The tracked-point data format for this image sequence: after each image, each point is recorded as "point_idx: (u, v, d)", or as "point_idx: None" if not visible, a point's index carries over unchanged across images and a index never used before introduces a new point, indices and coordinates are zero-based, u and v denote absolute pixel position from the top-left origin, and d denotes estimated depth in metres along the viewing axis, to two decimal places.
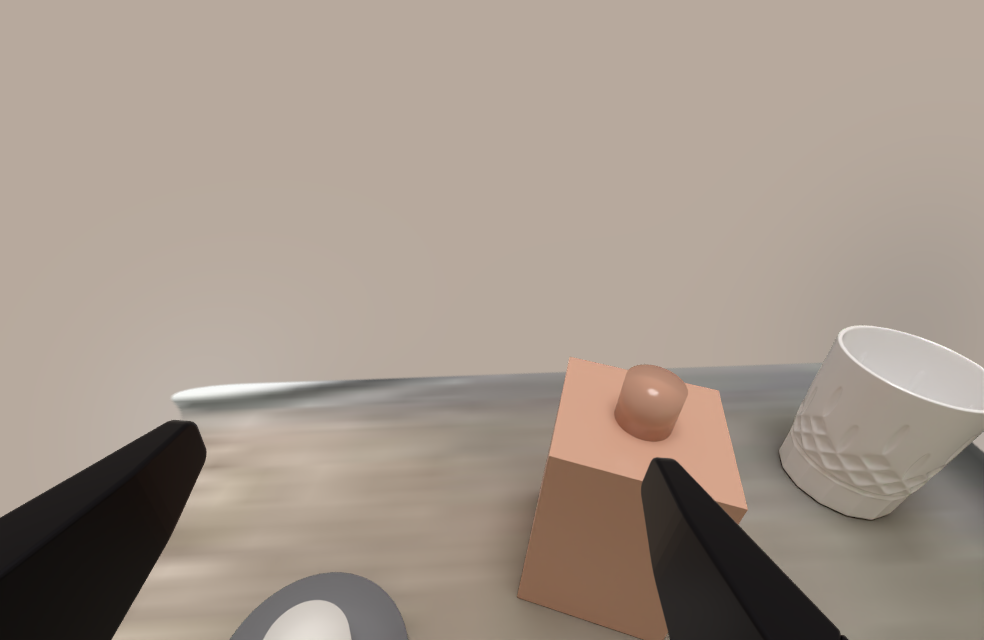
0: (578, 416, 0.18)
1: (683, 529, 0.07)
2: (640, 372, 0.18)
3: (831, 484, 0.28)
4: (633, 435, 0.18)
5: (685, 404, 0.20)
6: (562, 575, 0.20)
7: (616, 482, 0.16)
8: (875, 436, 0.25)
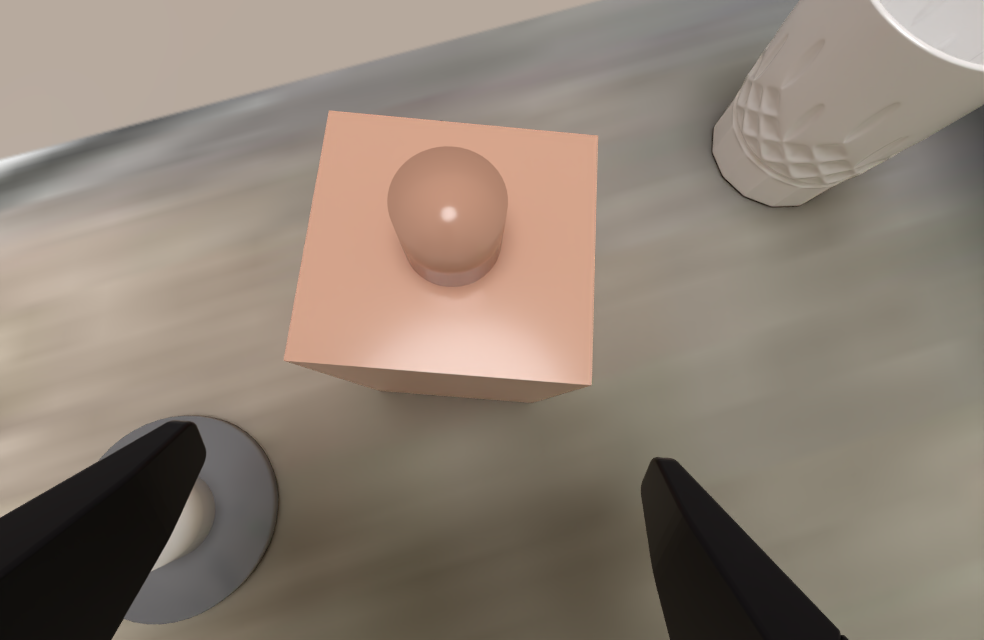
0: (337, 261, 0.11)
1: (683, 529, 0.07)
2: (419, 174, 0.09)
3: (763, 177, 0.21)
4: (431, 280, 0.10)
5: (532, 184, 0.11)
6: (409, 389, 0.17)
7: (402, 371, 0.10)
8: (843, 119, 0.17)
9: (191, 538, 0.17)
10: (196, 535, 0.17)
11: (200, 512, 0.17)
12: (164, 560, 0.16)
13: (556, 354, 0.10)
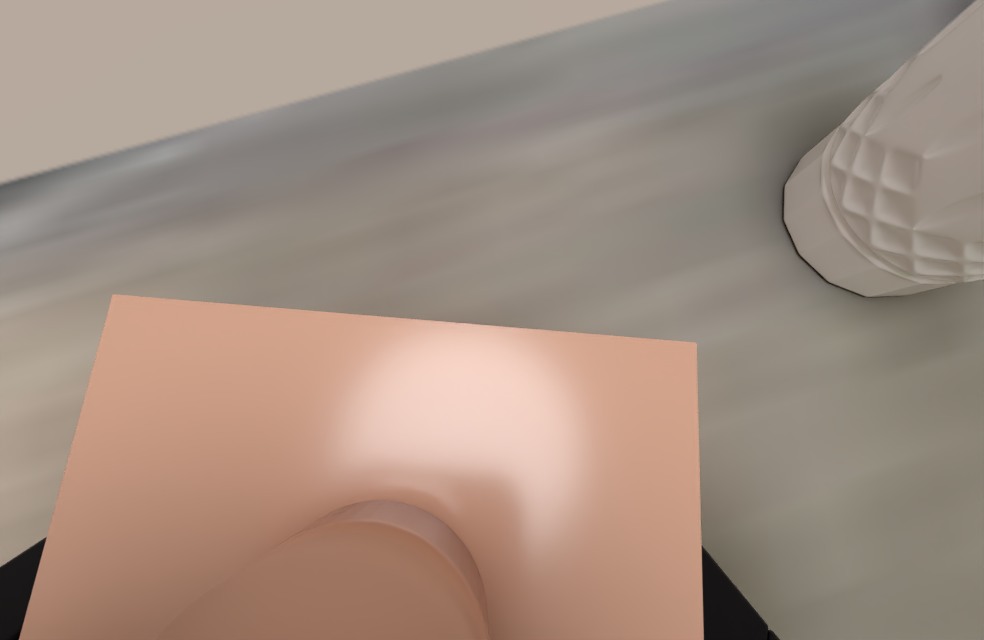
0: None
1: None
2: None
3: (865, 266, 0.15)
4: None
5: (558, 469, 0.05)
6: None
7: None
8: None
9: None
10: None
11: None
12: None
13: None
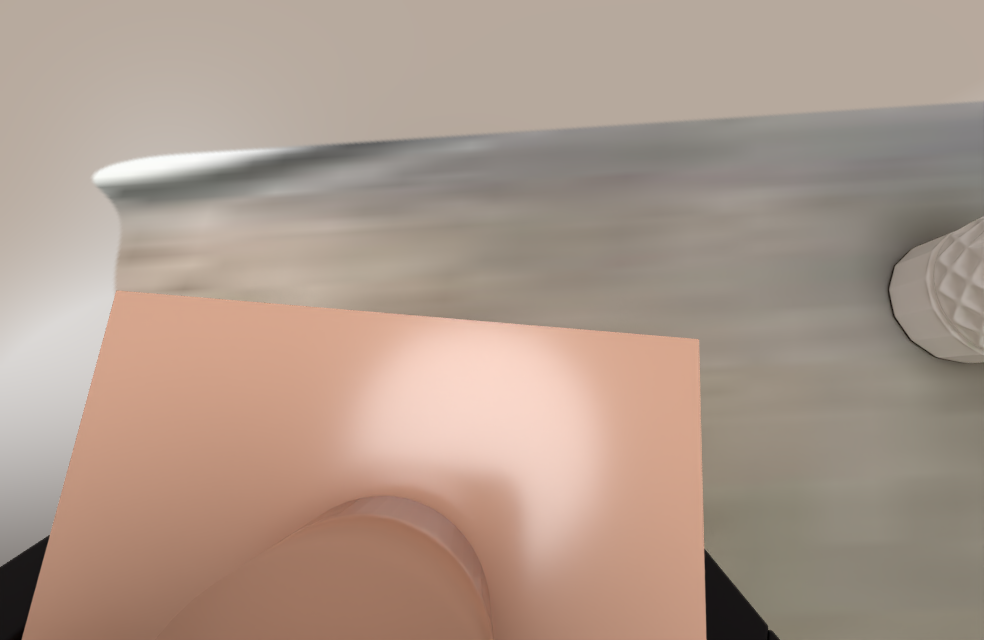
0: None
1: None
2: None
3: (943, 334, 0.22)
4: None
5: (561, 465, 0.05)
6: None
7: None
8: None
9: None
10: None
11: None
12: None
13: None
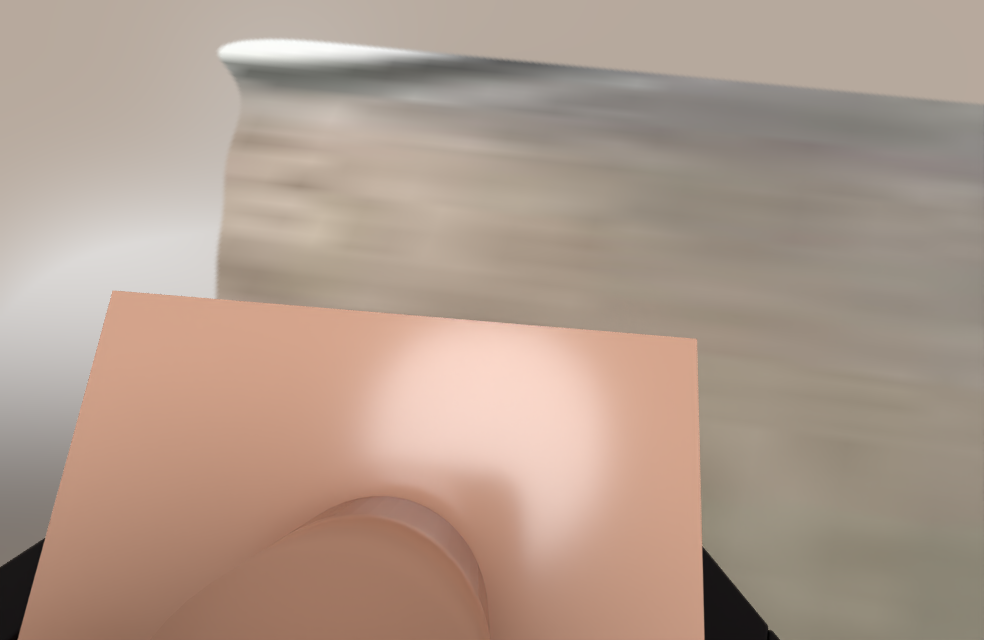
0: None
1: None
2: None
3: None
4: None
5: (558, 465, 0.05)
6: None
7: None
8: None
9: None
10: None
11: None
12: None
13: None
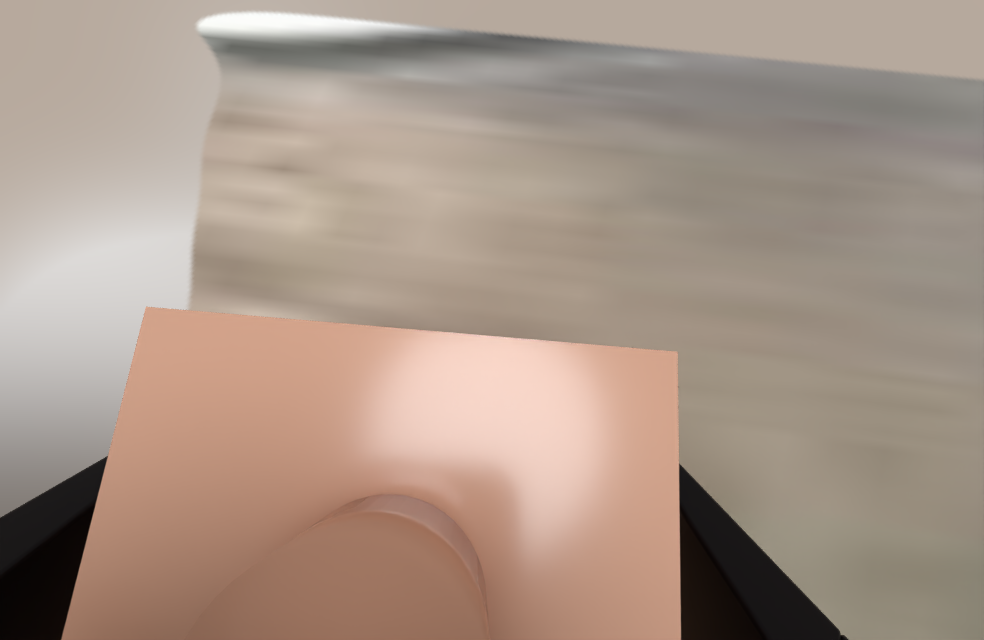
0: None
1: (683, 529, 0.07)
2: (251, 633, 0.03)
3: None
4: None
5: (550, 466, 0.06)
6: None
7: None
8: None
9: None
10: None
11: None
12: None
13: None
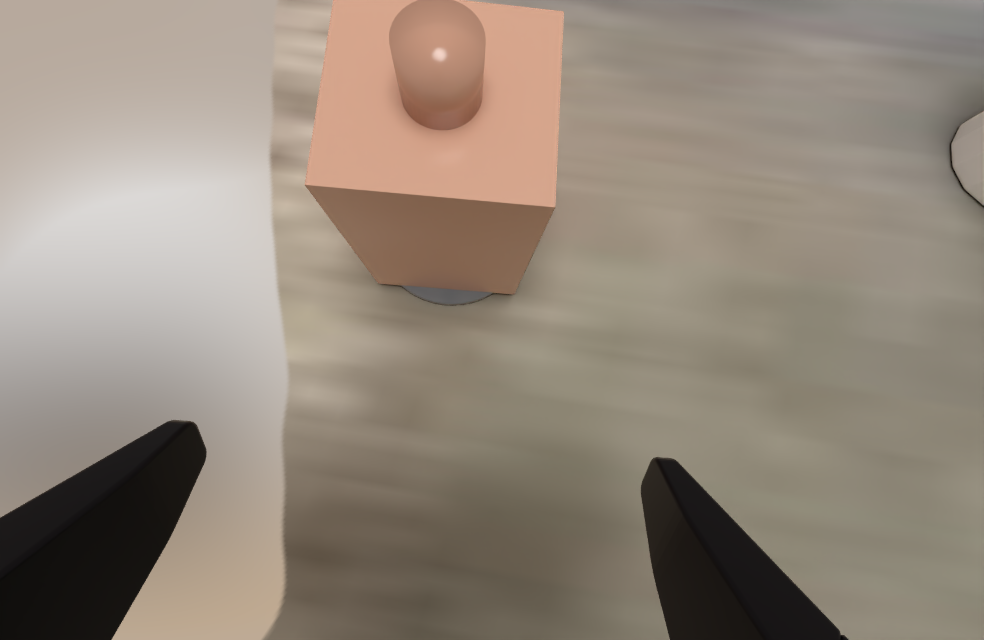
0: (346, 108, 0.13)
1: (683, 529, 0.07)
2: (413, 18, 0.11)
3: None
4: (425, 125, 0.13)
5: (508, 50, 0.13)
6: (405, 268, 0.20)
7: (401, 200, 0.13)
8: None
9: None
10: None
11: None
12: None
13: (527, 183, 0.13)
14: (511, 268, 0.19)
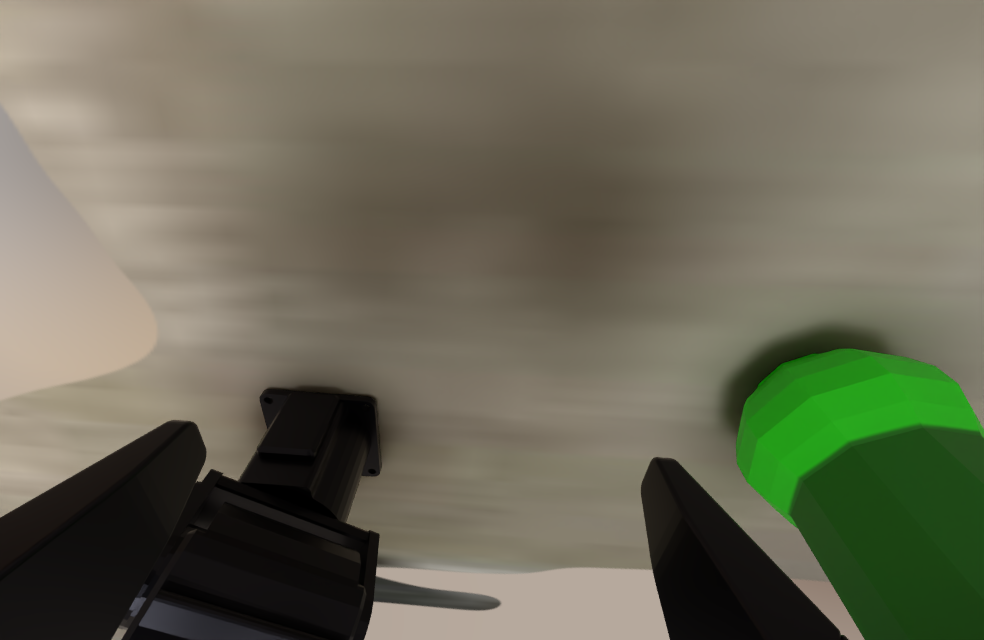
0: None
1: (683, 529, 0.07)
2: None
3: None
4: None
5: None
6: None
7: None
8: None
9: None
10: None
11: None
12: None
13: None
14: None
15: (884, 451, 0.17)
